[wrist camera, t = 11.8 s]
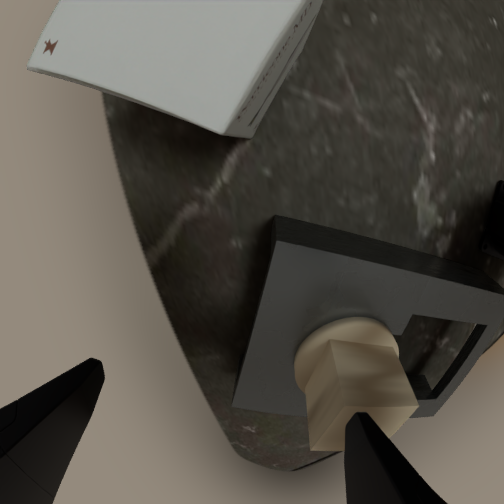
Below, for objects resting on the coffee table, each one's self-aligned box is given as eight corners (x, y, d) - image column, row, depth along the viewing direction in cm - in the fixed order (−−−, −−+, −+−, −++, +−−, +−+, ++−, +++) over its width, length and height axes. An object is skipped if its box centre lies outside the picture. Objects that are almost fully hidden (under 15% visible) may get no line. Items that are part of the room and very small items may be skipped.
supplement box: (252, 142, 18) (219, 151, 6) (155, 97, 17) (15, 71, 5) (306, 50, 15) (357, -62, 3) (207, 9, 14) (135, -102, 2)
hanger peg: (389, 290, 20) (448, 389, 11) (356, 357, 23) (384, 457, 14) (306, 273, 20) (329, 386, 11) (280, 346, 23) (282, 457, 13)
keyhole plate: (483, 270, 20) (513, 297, 15) (418, 382, 25) (433, 416, 21) (275, 214, 19) (276, 240, 15) (237, 364, 25) (231, 406, 20)
